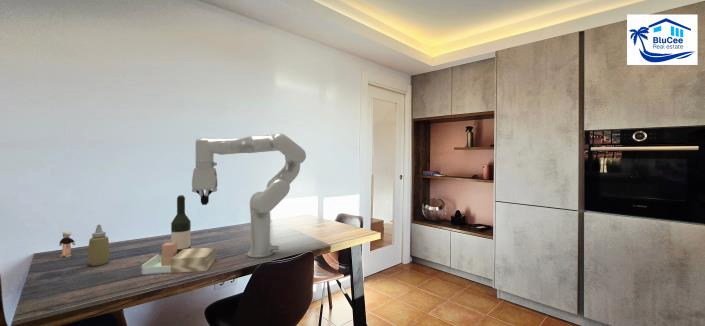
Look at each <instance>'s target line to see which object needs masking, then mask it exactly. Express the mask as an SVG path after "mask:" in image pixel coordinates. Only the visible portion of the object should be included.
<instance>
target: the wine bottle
mask: <svg viewBox="0 0 705 326" xmlns="http://www.w3.org/2000/svg"><path fill="white" fill-rule="evenodd" d="M184 195H185V194H182V195H178V196H177V197H176V215H175V216H174V218H173V220H172V221H171V223H170V227H171V228H170V230H171V232H170V233H171V234H170V238H171V239H170V240H171V242H170V243H176V242H177V254H178V253H179V252H180V251H182V250H183V249H192V248H191V242H192V241H191V235H192V234H191V233H192V232H191V226H192V223H191V219H189V217H188V215H187V214H186V197H185V196H184Z"/></svg>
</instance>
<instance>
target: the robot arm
mask: <svg viewBox="0 0 705 326" xmlns="http://www.w3.org/2000/svg"><path fill="white" fill-rule="evenodd" d="M277 151H278V152H280V153H281V154H282V155H284V160H285V164H284V166H283V167H282V169H281V170H280V171H278V172H277V174H275V175H274V176H273V177H272V178H271V179H270V180H268V182H267V183H266V189H264V190H263V191H257V192H254V193H253V194H252V195H251V197H250V200H249V213H250V250H248V251H247V254H246V255H247V256H248V257H250V258H257V259H258V258H267V257H269V256H271V255H273V254H274V251H280V245H272V243H271V211H272V210H274V208H276V206H278V205H279V204H280V203H281V201H283V200H284V199H285V197H287V196H288V194H289V192H290V189H291V183H293V182H294V180H295V179H296V178H298V175H299V173H300V171H301V164H303V163H304V162H305V160H306V158H307V153H306V150H304V148H303V147H302V146H300V145H299V144H298V143H296V142H295V141H294V140H292V139H291V138H290V137H288V136H287V135H286V134H284V133H280V132H279V133H276V134H265V135H249V136H246V137H243V138H242V137H241V138H232V139H231V138H229V139H227V138H217V139H216V138H214V139H213V138H212V139H211V138H198V139H196V140H195V168H194V169H193V170H192V177H191V179H192V180H191V192H192V193H197V194H198V195H199V196H200V203H201V206H206V205H208V204H209V200H210V199H209V198H210V197H209V196H210V195H211V194H212V193H215V192H217V191H218V174H217V170H216V168H215V166H217V165H218V163H217V162H215V161H214V157H215V155H214V154H217V155H220V156H223V155H234V154H236V155H237V154H255V153H256V154H257V153H266V152H267V153H268V152H277Z"/></svg>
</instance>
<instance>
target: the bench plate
mask: <svg viewBox="0 0 705 326" xmlns="http://www.w3.org/2000/svg"><path fill="white" fill-rule="evenodd" d="M216 248H217V247H215V246H213V247H199V248H197V247H196V248H194V247H193V248H191V249H183V250H182V251H180V252H179V253H178V254H176V255H175V256H174V257H172V258H171V273H170V274H177V273H178V274H179V273H191V272H207V271H208V269H209V268H210V267H211V266H212V265H213V264H214V262H215V261H216V258H217V257H216V252H217V251H216Z"/></svg>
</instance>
